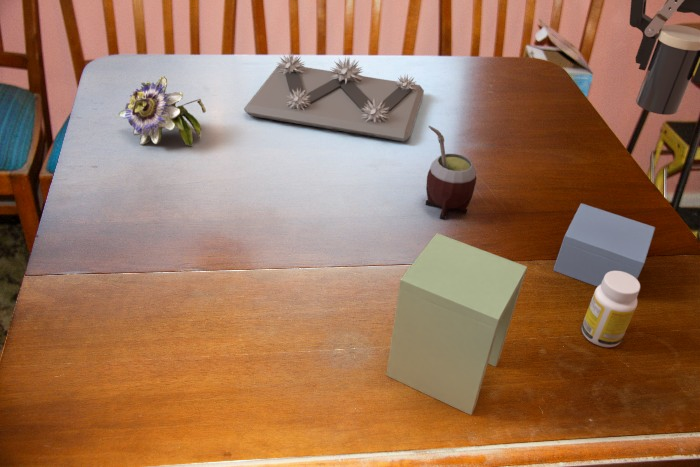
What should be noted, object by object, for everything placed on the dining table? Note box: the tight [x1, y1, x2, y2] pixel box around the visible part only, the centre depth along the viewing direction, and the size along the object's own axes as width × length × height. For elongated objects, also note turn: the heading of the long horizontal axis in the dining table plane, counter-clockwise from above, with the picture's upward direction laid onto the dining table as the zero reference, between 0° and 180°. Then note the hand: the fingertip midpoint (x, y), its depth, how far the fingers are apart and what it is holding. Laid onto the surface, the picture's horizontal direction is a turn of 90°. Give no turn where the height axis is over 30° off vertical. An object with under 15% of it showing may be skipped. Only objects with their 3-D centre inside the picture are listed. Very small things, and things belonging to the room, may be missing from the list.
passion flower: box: [118, 75, 207, 147], centre depth 108 cm, size 11×11×12 cm
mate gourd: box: [425, 125, 477, 221], centre depth 93 cm, size 8×8×15 cm
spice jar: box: [635, 24, 700, 116], centre depth 72 cm, size 5×5×8 cm
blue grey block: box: [553, 203, 656, 288], centre depth 88 cm, size 10×9×6 cm
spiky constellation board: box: [243, 53, 425, 142], centre depth 121 cm, size 30×22×7 cm
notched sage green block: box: [385, 233, 528, 416], centre depth 69 cm, size 10×9×14 cm
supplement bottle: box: [581, 271, 641, 348], centre depth 76 cm, size 5×5×8 cm
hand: (669, 73), depth 72 cm, fingers closed on spice jar, 5 cm apart
